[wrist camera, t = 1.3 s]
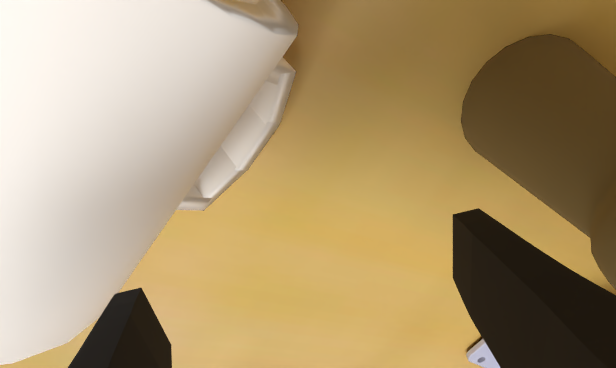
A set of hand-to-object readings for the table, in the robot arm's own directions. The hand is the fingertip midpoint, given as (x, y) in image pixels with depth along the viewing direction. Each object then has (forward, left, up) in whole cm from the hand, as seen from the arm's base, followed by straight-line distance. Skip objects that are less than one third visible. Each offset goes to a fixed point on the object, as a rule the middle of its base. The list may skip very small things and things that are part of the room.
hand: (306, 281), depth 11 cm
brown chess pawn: (-10, -6, -11) cm, 16 cm away
